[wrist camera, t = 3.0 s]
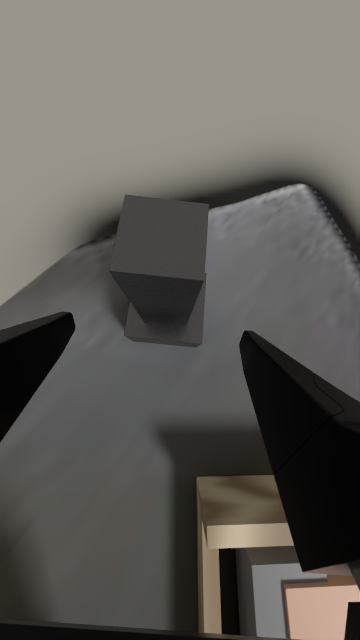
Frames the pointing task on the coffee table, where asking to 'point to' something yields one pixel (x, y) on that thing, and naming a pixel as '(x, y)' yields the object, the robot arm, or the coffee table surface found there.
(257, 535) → the trapdoor frame
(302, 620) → the trapdoor
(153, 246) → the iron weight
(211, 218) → the coffee table surface
